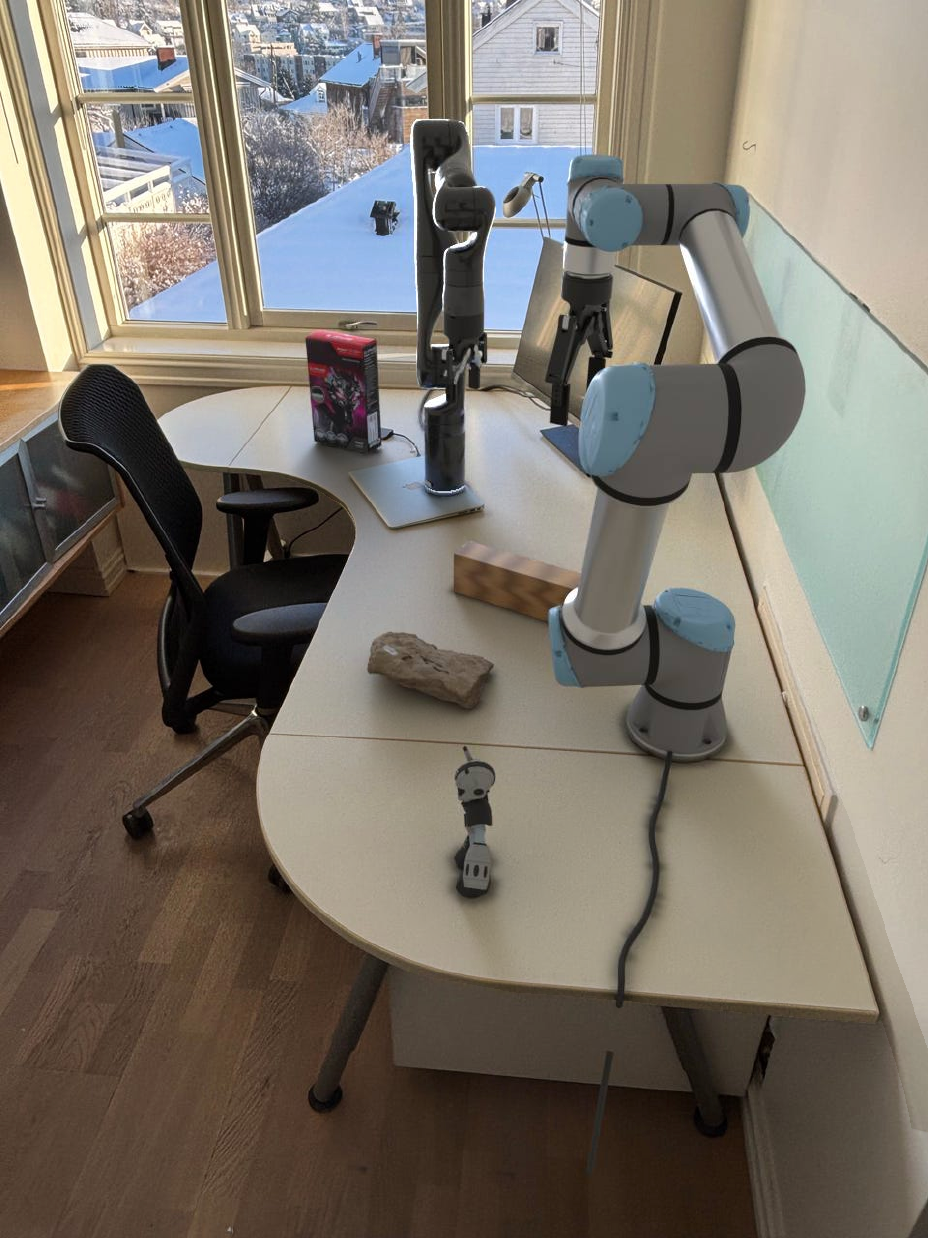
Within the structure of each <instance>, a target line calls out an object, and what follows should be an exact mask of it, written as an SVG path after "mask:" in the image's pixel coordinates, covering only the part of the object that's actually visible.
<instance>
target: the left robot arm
mask: <svg viewBox="0 0 928 1238" xmlns="http://www.w3.org/2000/svg"><path fill="white" fill-rule="evenodd" d="M410 131H411V132H410V153H411V155H410V156H411V171H412V182H413V183H412V184H413V197H414V267H415V268H414V269H415V271H414V273H415V287H416V289H415V291H416V311H417V312H416V313H417V315H416V316H417V318H416V352H415V359H416V360H415V371H416V372H415V373H416V380H417V384H418V386H419V387H420V388H421V389H425V390H426V392H425V394H424V395H423V397H422V398H421V400H420V403H419V406H418V410H417V411H418V412H417V416H418V421H419V422H418V423H419V424H420V427H421V428H422V430H423V432H424V433H423V434H424V437H423V438H424V440H423V441H424V481H423V482H424V490H425V491H426V492H427V493H428V494H431V495H433V496H439V497H451V496H456V495H459V494H461V493H462V492H465V489H466V392H467V385H468V388H469V389H472V390H478V389H480V388H481V370H483V365H485V364H487V363H488V333H487V332H485V303H486V301H485V300H486V299H485V287H484V286H485V285H484V282H485V281H484V279H485V278H484V276H485V275H484V273H485V272H484V271H485V255H486V250H487V249H486V248H487V244H488V240H489V236H490V232H491V229H492V228H493V227H492V225H493V224H494V223H493V222H494V220H495V215H496V211H497V207H496V206H497V205H496V200H495V199H496V198H495V196H494V194H493V192H492V191H491V190H490V189H489V188H488V187H485V186H478V184H477V181H476V178H475V176H474V172H473V170H472V153H471V144H470V143H471V142H470V137H469V132H468V129H467V127H466V125H465V123H464V122H462V121H460V120H459V119H445V118H443V119H441V118H438V119H437V118H436V119H435V118H434V119H433V118H432V119H429V118H427V119H425V118H423V119H416V120H415V121H414V122H413V124H412V126H411V130H410ZM431 173H432V174H435V176H434V185H435V189H436V194H435V195H434V191H433V189H432V185H431V182H430V174H431ZM456 233H472V234H471V236H470V237H469V238H468V240H466V241H465V242H462V243H460V242H459V240H458V237H457V235H456ZM441 315H442V334H443V335H444V336H445V337H447V339H448V343H442V344H441V343H436V344H435V343H434V344H433V343H432V338H433V334H434V331H435V327H436V325H437V324H438V321H439V319H440V317H441ZM480 352H481V353H480ZM467 377H468V381H467ZM467 382H468V384H467ZM435 389H436V390H440V389H441V390H444V391H445V393H444V394H442V395H440V396H438V397H435V398H431V399H430V400H428V401H427V402H426V403H425V400H426V399H427V397H428V395H430V392H431V390H435ZM424 403H425V404H424ZM423 404H424V405H423ZM422 409H423V419H422ZM425 485H426V486H427V487H428V488H430V489H432V490H435V491H451V490H456V489H459V488H461V487H462V486H464V485H465V487H464V488H463V489H461V490H459V491H456V492H452V493H438V492H433V491H431V490H429V489H427V488H426V487H425Z"/></svg>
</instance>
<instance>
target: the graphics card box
mask: <svg viewBox="0 0 928 1238" xmlns="http://www.w3.org/2000/svg"><path fill="white" fill-rule="evenodd" d="M304 340H305V348H306V361H307V369H308V370H307V371H308V373H307V374H308V383H309V394H310V405H311V407H310V408H311V417H312V418H311V419H312V429H313V441H314V443H319V444H323V445H327V446H332V447H335V448H341V449H346V450H350V451H354V452H359V453H363V454H370V453H372V452H373V451H375V450H377V449H379V448H380V447H382V429H381V428H382V426H381V425H382V424H381V423H382V422H381V407H380V388H379V387H380V386H379V366H378V365H379V364H378V341H377V338H369V337H363V336H357V335H354V334H347V333H341V332H335V331H330V330H325V329H317V330H314V331H313V332H310V333H309V334H308V335H306V336H305V337H304Z"/></svg>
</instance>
